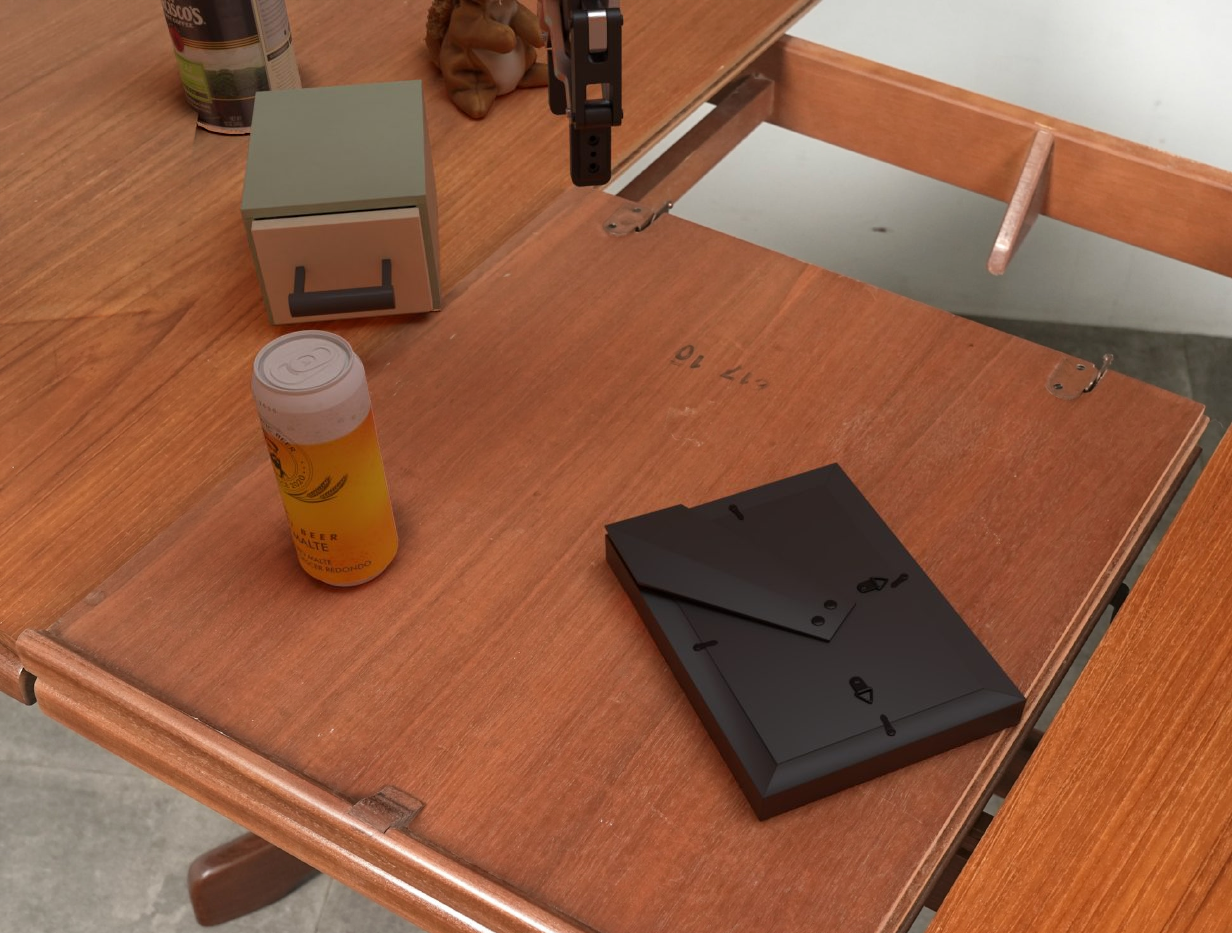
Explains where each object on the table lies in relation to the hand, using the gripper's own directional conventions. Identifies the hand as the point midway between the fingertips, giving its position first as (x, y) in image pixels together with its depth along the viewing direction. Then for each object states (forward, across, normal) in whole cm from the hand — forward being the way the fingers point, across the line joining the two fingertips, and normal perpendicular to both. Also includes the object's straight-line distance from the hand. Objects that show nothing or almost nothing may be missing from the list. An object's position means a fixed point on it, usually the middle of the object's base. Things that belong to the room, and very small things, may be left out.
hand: (578, 146), depth 79 cm
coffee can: (+19, -47, -22) cm, 56 cm away
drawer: (+18, -17, -14) cm, 29 cm away
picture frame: (+19, +23, +9) cm, 31 cm away
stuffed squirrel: (+18, -48, -2) cm, 51 cm away
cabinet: (+19, -22, -14) cm, 32 cm away
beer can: (+20, +11, -16) cm, 28 cm away
